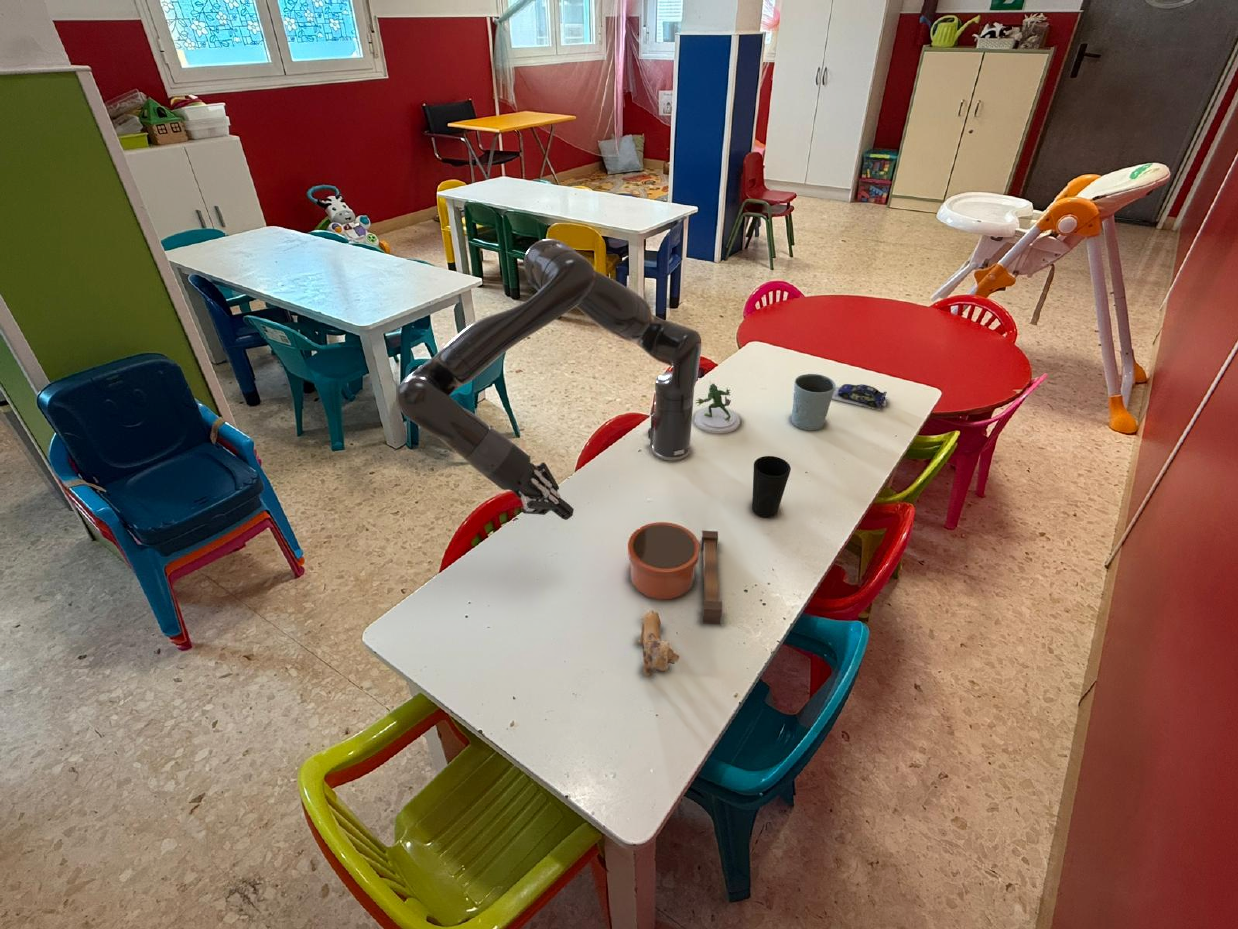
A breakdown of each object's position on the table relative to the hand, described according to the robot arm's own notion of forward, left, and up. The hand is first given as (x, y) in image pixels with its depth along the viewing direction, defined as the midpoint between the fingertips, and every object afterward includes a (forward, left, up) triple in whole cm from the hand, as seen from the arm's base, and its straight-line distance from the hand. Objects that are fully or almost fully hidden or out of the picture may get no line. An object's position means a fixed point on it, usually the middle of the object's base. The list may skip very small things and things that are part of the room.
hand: (570, 515), depth 116 cm
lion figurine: (+25, -1, -15) cm, 29 cm away
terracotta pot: (+12, +13, -15) cm, 23 cm away
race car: (-2, +102, -15) cm, 103 cm away
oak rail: (+19, +19, -15) cm, 31 cm away
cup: (+12, +44, -15) cm, 48 cm away
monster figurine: (-20, +63, -15) cm, 68 cm away
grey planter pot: (-4, +81, -15) cm, 82 cm away
